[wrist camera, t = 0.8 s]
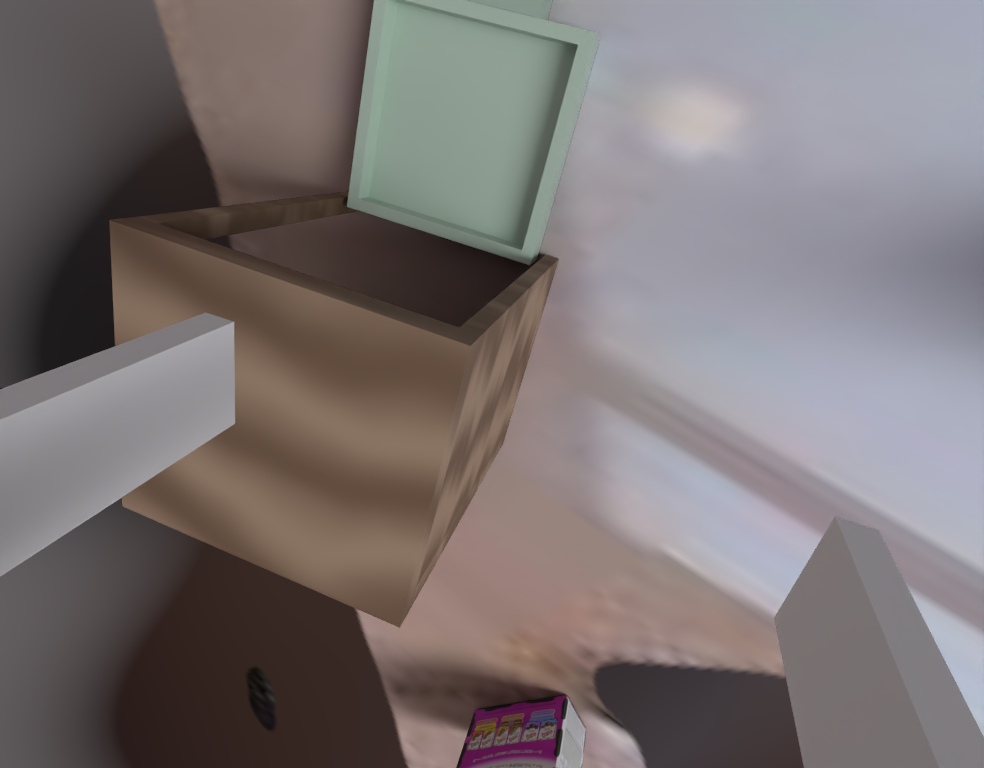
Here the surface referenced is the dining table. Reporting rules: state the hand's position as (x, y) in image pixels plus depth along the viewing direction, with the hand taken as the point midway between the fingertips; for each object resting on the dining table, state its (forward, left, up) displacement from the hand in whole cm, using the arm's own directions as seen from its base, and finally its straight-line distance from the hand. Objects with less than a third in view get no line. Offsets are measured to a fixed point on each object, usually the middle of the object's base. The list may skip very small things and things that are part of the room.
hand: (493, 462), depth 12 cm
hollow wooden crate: (+10, -12, -30) cm, 34 cm away
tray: (-7, -12, -30) cm, 33 cm away
